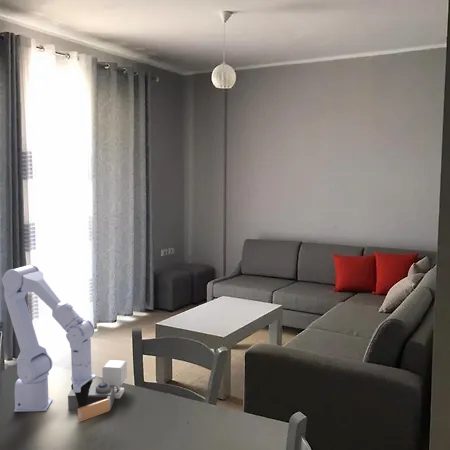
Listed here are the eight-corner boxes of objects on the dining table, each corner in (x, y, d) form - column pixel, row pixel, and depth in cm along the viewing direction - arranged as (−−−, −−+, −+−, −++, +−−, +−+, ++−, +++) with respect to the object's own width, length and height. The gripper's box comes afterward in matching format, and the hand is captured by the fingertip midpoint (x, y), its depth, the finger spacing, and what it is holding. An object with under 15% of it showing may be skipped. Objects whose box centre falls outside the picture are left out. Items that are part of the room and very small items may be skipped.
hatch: (109, 408, 161) (109, 395, 160) (113, 410, 159) (112, 398, 159) (76, 420, 153) (76, 407, 153) (80, 422, 152) (79, 409, 151)
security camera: (127, 389, 175) (126, 360, 174) (121, 398, 168) (120, 368, 167) (108, 388, 175) (108, 359, 174) (101, 397, 169) (101, 367, 167)
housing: (68, 409, 160) (67, 390, 159) (73, 399, 167) (73, 380, 166) (111, 409, 161) (110, 389, 160) (114, 398, 168) (114, 379, 167)
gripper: (90, 371, 149) (91, 416, 150) (99, 352, 163) (100, 394, 164) (65, 371, 148) (66, 417, 150) (76, 353, 162) (77, 395, 164)
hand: (82, 405), depth 157 cm, fingers closed
